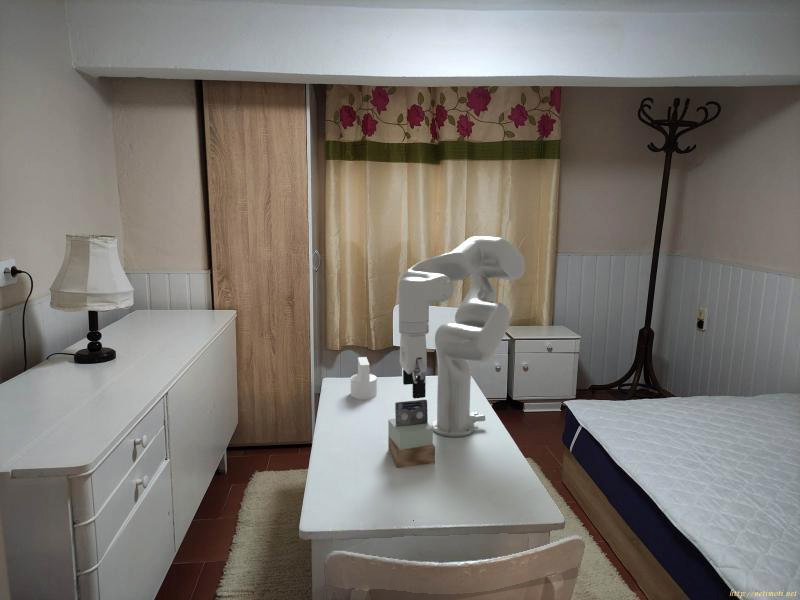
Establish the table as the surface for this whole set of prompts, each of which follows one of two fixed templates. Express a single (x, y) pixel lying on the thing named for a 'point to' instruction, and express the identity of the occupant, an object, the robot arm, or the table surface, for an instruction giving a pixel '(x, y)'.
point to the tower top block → (410, 435)
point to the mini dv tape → (411, 412)
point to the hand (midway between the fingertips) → (413, 390)
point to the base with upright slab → (363, 381)
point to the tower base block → (411, 455)
